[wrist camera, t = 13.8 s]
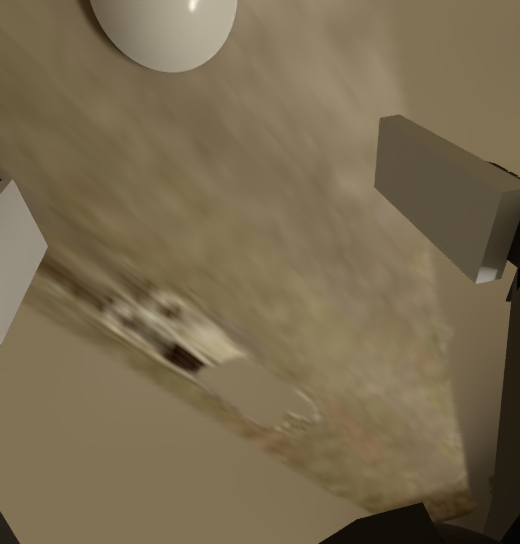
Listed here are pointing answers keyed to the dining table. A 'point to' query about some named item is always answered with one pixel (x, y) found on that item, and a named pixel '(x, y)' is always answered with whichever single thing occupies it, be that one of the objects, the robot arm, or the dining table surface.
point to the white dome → (167, 30)
